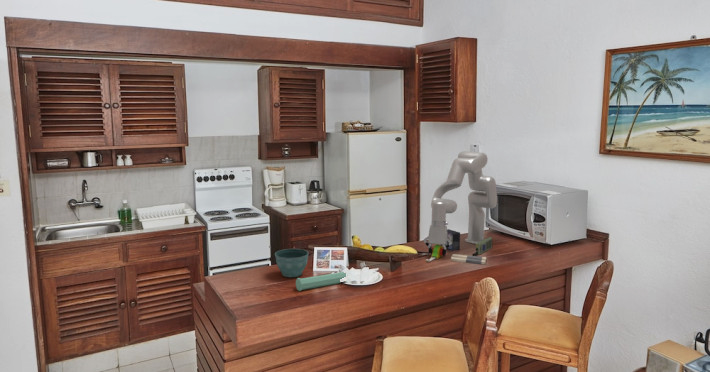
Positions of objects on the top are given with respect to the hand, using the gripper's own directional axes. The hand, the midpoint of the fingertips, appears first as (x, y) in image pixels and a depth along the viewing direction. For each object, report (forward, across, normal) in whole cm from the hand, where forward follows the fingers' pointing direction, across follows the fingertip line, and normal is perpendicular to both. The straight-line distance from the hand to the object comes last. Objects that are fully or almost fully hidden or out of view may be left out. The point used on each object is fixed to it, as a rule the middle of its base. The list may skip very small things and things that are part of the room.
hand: (437, 254), depth 275 cm
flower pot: (+2, +62, +55) cm, 83 cm away
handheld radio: (+2, -23, -20) cm, 30 cm away
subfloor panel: (+1, -17, 0) cm, 17 cm away
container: (+2, +42, +64) cm, 76 cm away
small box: (+2, -4, -21) cm, 22 cm away
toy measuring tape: (+2, +1, +2) cm, 3 cm away
